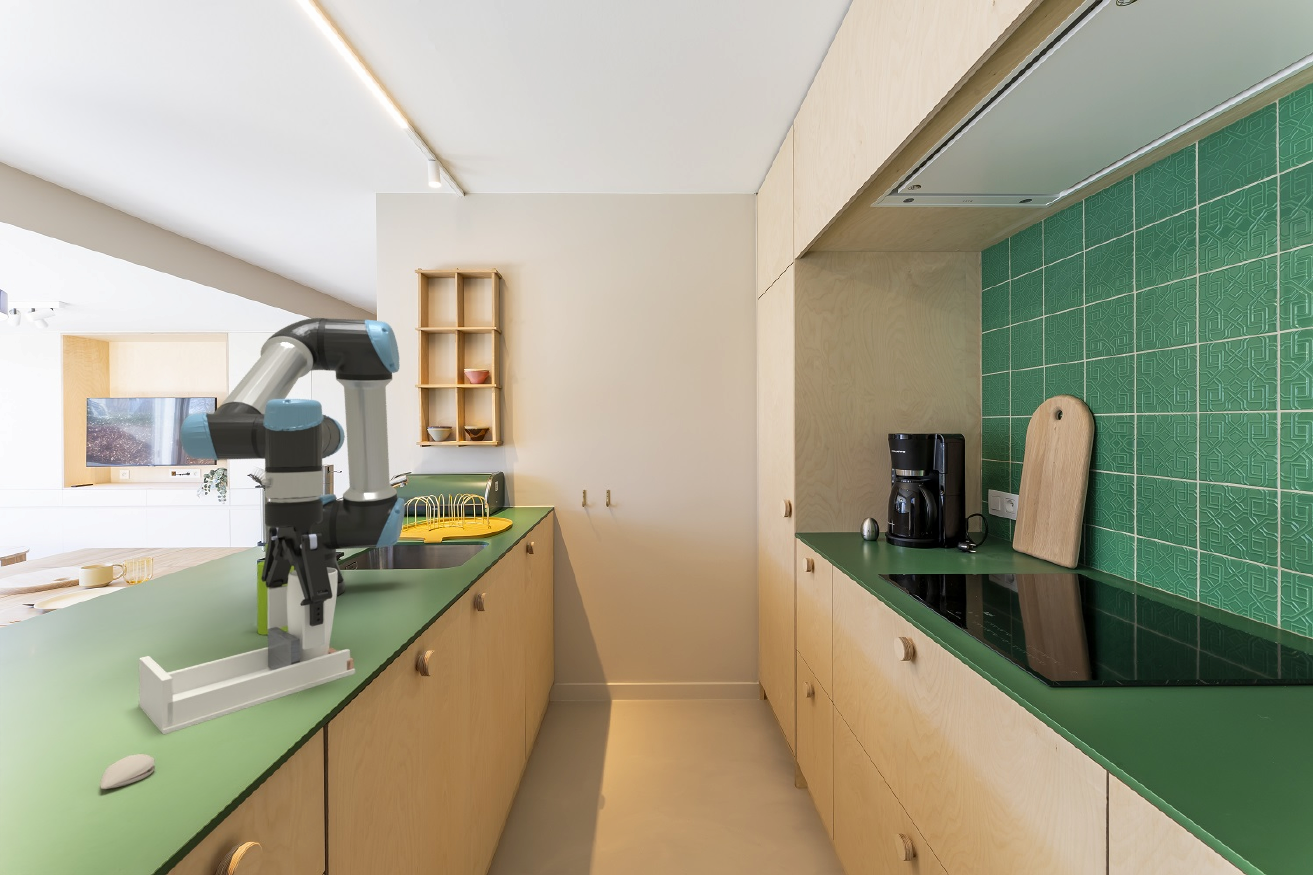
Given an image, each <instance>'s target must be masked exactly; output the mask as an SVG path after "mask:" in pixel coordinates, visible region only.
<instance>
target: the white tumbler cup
mask: <svg viewBox="0 0 1313 875" xmlns="http://www.w3.org/2000/svg"><path fill="white" fill-rule="evenodd" d="M327 571H328V576H329V581H330V585H331V590H332V598H331V599H327V600H326V601H324V604H325V644H323V645H320V646H316V647H312V648H309V649H303V635H302V606H301V605H300V604H301V602H302V601H303V600H304V599H305V598H304V595H303V592H302V588H301V585H300V582H299V579H298V575H297V572H296V570H294V571H291V572H290V573H289V575H288V584H287V623H288V631H287V632H288V633H290V634H291V635H293V636H295V637H297V638H299V639H300V662H303V661H307V660H310V659H314V658H317V657H321V656H324V655H328V653H329V647H330V643H331V638H332V637H331V636H332V630H333V623H334V618H335V616H334V615H335V610H336V602H337V596H338V595H337V582H338V574H337V572H338V571H337V569H334V568H327Z"/></svg>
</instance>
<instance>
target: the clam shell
mask: <svg viewBox="0 0 1313 875" xmlns="http://www.w3.org/2000/svg"><path fill="white" fill-rule="evenodd" d="M155 763H156V761H155V758H154V757H153V756H150V755H149V754H142V753H138V754H130V755H126V756H125V757H123V758H121V759H119V760H117V761H115V762H114V763H112V764H110V765H109V766H108V767H107V768H106V769H105V771H104V772H103V774H102V776H101V779H100V783H99V784H100V789H102V790H107V789H115V788H119V787H125V786H128V785H131V784H134V783H135V782H138V781H141V780H143V779H146V778H147V777H149V776H150V775H151V774H152V773H153V772H154V771H155V768H156V766H155Z"/></svg>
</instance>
